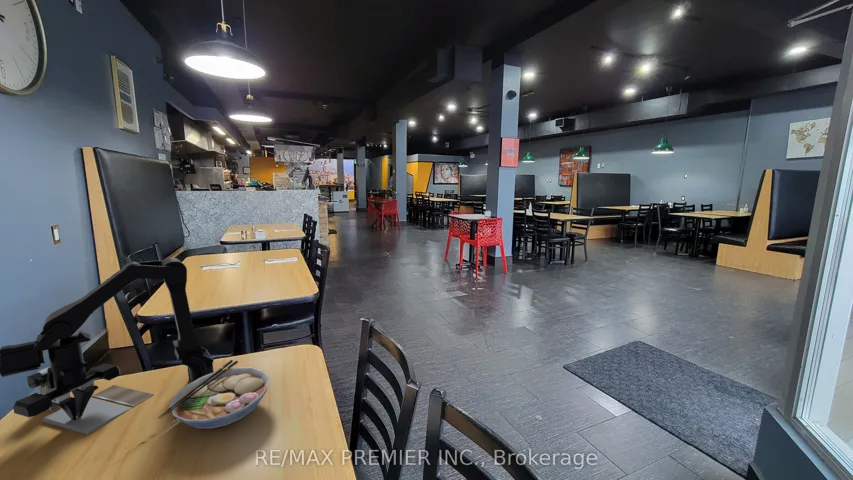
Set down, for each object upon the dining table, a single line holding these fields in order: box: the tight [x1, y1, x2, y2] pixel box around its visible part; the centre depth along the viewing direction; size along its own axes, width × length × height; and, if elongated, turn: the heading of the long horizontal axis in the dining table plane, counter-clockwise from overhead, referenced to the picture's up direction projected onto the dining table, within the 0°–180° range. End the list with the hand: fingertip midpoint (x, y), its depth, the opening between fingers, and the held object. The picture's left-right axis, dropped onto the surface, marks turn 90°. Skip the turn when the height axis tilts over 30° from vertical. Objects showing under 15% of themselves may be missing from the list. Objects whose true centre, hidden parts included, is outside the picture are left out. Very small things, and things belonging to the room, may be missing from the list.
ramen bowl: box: [157, 359, 270, 429], centre depth 93 cm, size 25×23×8 cm
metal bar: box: [91, 384, 155, 408], centre depth 100 cm, size 16×6×2 cm, turn 74°
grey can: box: [37, 365, 61, 412], centre depth 94 cm, size 5×5×12 cm
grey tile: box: [42, 397, 132, 435], centre depth 92 cm, size 16×10×1 cm, turn 74°
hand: (76, 418), depth 89 cm, fingers closed
